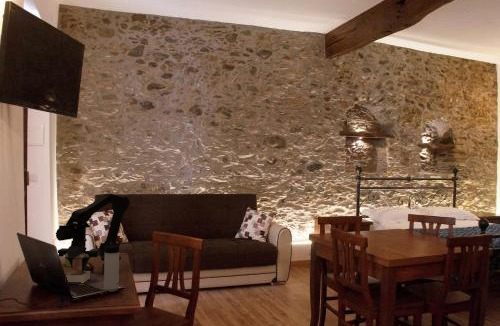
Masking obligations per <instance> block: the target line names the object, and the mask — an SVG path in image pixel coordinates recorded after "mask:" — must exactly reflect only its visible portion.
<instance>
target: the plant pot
mask: <svg viewBox="0 0 500 326" xmlns="http://www.w3.org/2000/svg"><path fill="white" fill-rule="evenodd" d="M65 255H66V254H65ZM65 255H64V256H65ZM80 256H81V255H79V256H78V257H80ZM64 259H65V266H66V267H67V266H68V267H69V268H72V267H71V264H70V262H69V260H68V259H67V258H65V257H64Z"/></svg>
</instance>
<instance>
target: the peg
mask: <svg viewBox="0 0 500 326" xmlns="http://www.w3.org/2000/svg"><path fill="white" fill-rule="evenodd" d="M83 257H84V256H82V257H76V258H74V259H73V268H72V267H71V272H72V275H83V274H84V271H85V270H84V271H82V264H83V259H82V258H83Z"/></svg>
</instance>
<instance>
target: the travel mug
mask: <svg viewBox="0 0 500 326" xmlns="http://www.w3.org/2000/svg"><path fill="white" fill-rule="evenodd" d="M120 246H121V244H120V243H117V242H116V244H110V245H107V246H105V255H104V261H103V264H104V275H103V291H104V290H106V291H109V292H111V293H112V292H116V291H118V290H119V283H120V282H119V279H120V278H119V277H120V261H119V256H120ZM106 291H105V292H106ZM109 292H108V293H109Z"/></svg>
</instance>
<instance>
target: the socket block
mask: <svg viewBox="0 0 500 326" xmlns="http://www.w3.org/2000/svg"><path fill="white" fill-rule="evenodd" d="M66 277H67V280H68V282H81V283H84V282H85V281H87V280H88V279H90V278H91V270H84V274H83V275H72V271H70V272H69V273H67V274H66V275H65V278H66ZM90 280H91V279H90ZM87 282H88V281H87Z"/></svg>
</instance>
